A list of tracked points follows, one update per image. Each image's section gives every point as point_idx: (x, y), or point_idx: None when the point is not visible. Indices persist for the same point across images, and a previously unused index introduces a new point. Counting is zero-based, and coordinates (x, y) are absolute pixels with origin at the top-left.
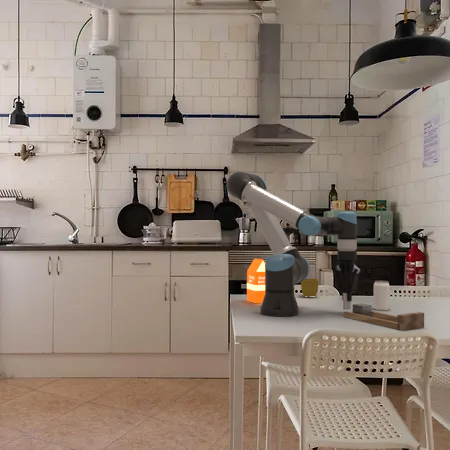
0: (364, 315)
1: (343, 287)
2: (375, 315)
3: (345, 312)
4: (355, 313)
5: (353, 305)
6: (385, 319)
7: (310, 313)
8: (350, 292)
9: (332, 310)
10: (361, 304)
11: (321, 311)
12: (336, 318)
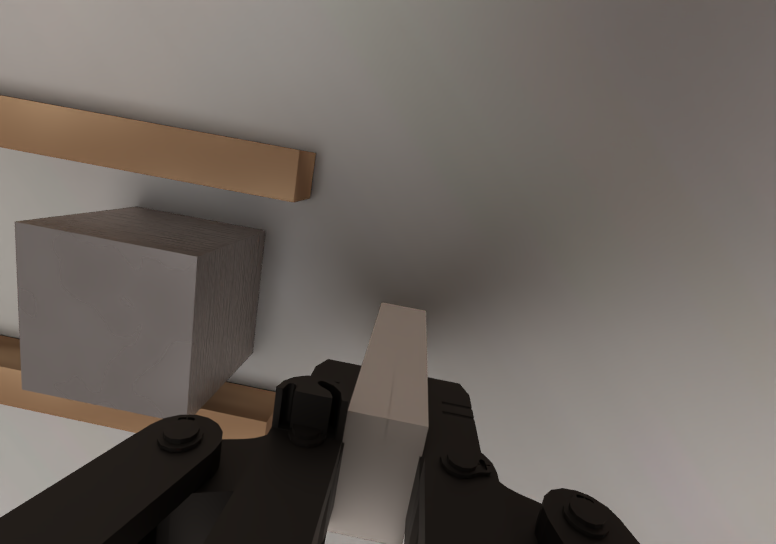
0: (20, 144)
1: (427, 534)
2: None
3: (274, 146)
4: (153, 170)
5: (188, 251)
6: (5, 338)
7: (726, 7)
8: (235, 441)
9: (629, 386)
10: (127, 343)
11: (691, 240)
12: (314, 10)
